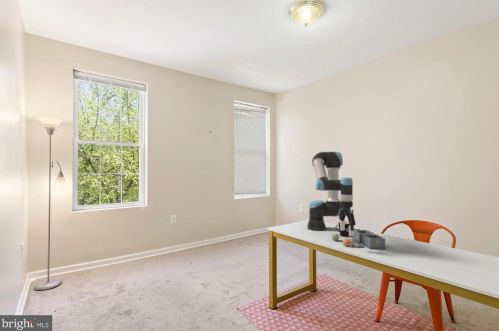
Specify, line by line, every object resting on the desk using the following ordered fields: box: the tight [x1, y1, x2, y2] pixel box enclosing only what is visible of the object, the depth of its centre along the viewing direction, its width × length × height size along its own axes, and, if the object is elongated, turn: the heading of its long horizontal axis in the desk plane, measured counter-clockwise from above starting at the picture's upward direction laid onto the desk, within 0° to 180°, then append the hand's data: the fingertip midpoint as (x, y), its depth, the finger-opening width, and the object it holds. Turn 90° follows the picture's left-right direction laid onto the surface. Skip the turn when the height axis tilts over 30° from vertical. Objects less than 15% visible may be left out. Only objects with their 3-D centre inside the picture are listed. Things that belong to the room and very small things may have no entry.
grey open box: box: [361, 233, 386, 250], centre depth 167 cm, size 10×10×6 cm
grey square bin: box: [352, 229, 375, 244], centre depth 179 cm, size 10×10×6 cm
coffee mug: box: [335, 220, 349, 238], centre depth 192 cm, size 12×9×10 cm
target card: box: [348, 238, 366, 249], centre depth 172 cm, size 16×6×1 cm, turn 3°
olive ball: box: [331, 233, 340, 241], centre depth 180 cm, size 5×5×5 cm
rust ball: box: [342, 237, 351, 247], centre depth 168 cm, size 5×5×5 cm
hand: (346, 232), depth 168 cm, fingers open, 13 cm apart
